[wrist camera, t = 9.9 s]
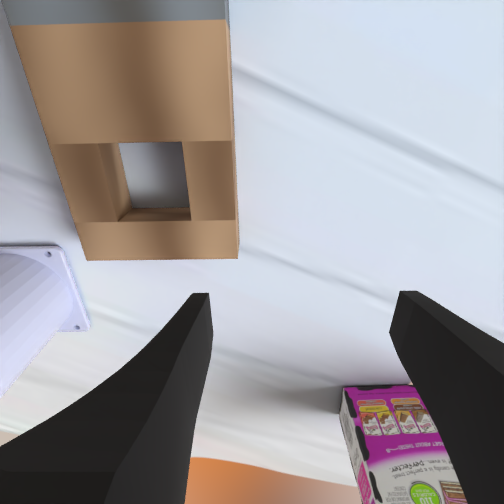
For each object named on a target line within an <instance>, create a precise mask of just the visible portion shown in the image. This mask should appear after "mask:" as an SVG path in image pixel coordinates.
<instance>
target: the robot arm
mask: <svg viewBox="0 0 504 504" xmlns="http://www.w3.org/2000/svg"><path fill="white" fill-rule="evenodd" d="M47 251H48V252H50V253H51V255H50V254H49V253H48V252H47ZM77 325H78V326H77ZM90 326H91V325H90V322H89V319H88V317H87V314H86V311H85V308H84V306H83V303H82V300H81V297H80V295H79V292H78V289H77V286H76V284H75V281H74V278H73V275H72V273H71V270H70V267H69V264H68V262H67V259H66V256H65V253H64V251H63V250H62V249H61V248H60V247H58V246H17V247H0V398H1V397H2V396H3V395H4V394H5V392H6V391H7V390H8V389H9V388H10V386H11V385H12V384H13V383H14V382H15V381H16V379H17V378H18V377H19V376H20V375H21V373H22V372H23V371H24V370H25V369H26V368H27V366H28V365H29V364H30V363H31V362H32V360H33V359H34V358H35V357H36V356H37V354H38V353H39V352H40V351H41V350H42V349H43V347H44V346H45V345H46V344H47V343H48V341H49V340H50V339H51V338H52V337H53V336H54V334H55V333H56V332H82V331H88V330H89V328H90ZM389 333H390V336H391V339H392V342H393V344H394V347H395V350H396V352H397V355H398V357H399V359H400V361H401V363H402V365H403V367H404V368H405V370H406V372H407V374H408V376H409V378H410V379H411V381H412V383H413V385H414V387H415V389H416V390H417V392H418V394H419V396H420V398H421V399H422V401H423V403H424V405H425V407H426V409H427V410H428V412H429V414H430V416H431V418H432V420H433V422H434V424H435V426H436V428H437V430H438V432H439V435H440V437H441V439H442V442H443V444H444V446H445V449H446V451H447V453H448V456H449V458H450V460H451V463H452V465H453V468H454V470H455V473H456V475H457V478H458V480H459V483H460V485H461V488H462V490H463V493H464V496H465V498H466V501H467V504H504V343H502V342H501V341H499V340H497V339H495V338H494V337H492V336H490V335H488V334H487V333H485V332H483V331H482V330H480V329H478V328H477V327H475V326H473V325H472V324H470V323H468V322H467V321H465V320H464V319H462V318H460V317H459V316H457V315H456V314H454V313H452V312H451V311H449V310H448V309H446V308H444V307H443V306H441V305H440V304H438V303H437V302H435V301H433V300H432V299H430V298H428V297H427V296H425V295H423V294H422V293H420V292H418V291H400V293H399V296H398V300H397V304H396V308H395V312H394V316H393V319H392V323H391V327H390V331H389ZM212 341H213V326H212V317H211V308H210V299H209V293H193V294H191V295H190V297H189V298H188V299H187V300H186V302H185V303H184V304H183V305H182V307H181V308H180V309H179V310H178V311H177V313H176V314H175V315H174V316H173V317H172V318H171V320H170V321H169V322H168V323H167V324H166V325H165V326H164V327H163V329H162V330H161V331H160V332H159V333H158V334H157V335H156V336H155V337H154V338H153V339H152V340H151V341H150V342H149V343H148V344H147V345H146V346H145V347H144V348H143V349H142V350H141V351H140V352H139V353H138V354H137V355H136V356H134V357H133V358H132V359H131V360H130V361H129V362H128V363H127V364H125V365H124V366H123V367H122V368H121V369H119V370H118V371H117V372H116V373H114V374H113V375H112V376H110V377H109V378H108V379H106V380H105V381H104V382H102V383H101V384H100V385H98V386H97V387H96V388H94V389H93V390H92V391H90V392H89V393H88V394H86V395H85V396H83V397H82V398H80V399H79V400H77V401H76V402H74V403H73V404H71V405H70V406H68V407H67V408H65V409H63V410H62V411H60V412H59V413H57V414H56V415H54V416H52V417H51V418H49V419H47V420H46V421H44V422H42V423H41V424H39V425H37V426H35V427H34V428H32V429H30V430H28V431H27V432H25V433H23V434H21V435H20V436H18V437H16V438H15V439H13V440H11V441H9V442H7V443H6V444H4V445H2V446H1V447H0V504H184V503H185V495H186V487H187V479H188V471H189V464H190V456H191V449H192V442H193V435H194V428H195V423H196V418H197V413H198V409H199V405H200V401H201V397H202V392H203V388H204V384H205V380H206V375H207V371H208V367H209V363H210V358H211V350H212Z"/></svg>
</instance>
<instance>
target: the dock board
mask: <svg viewBox="0 0 504 504" xmlns="http://www.w3.org/2000/svg"><path fill="white" fill-rule="evenodd" d="M1 1H2V4H3V7H4V10H5V13H6V16H7V19H8V22H9V25H10V28H11V31H12V34H13V37H14V40H15V43H16V47H17V50H18V53H19V56H20V59H21V62H22V65H23V68H24V71H25V74H26V77H27V80H28V83H29V86H30V89H31V92H32V95H33V98H34V101H35V104H36V108H37V111H38V114H39V117H40V120H41V123H42V126H43V129H44V132H45V135H46V138H47V141H48V144H49V147H50V150H51V153H52V156H53V159H54V162H55V165H56V168H57V172H58V175H59V178H60V181H61V184H62V187H63V190H64V193H65V196H66V199H67V202H68V205H69V208H70V211H71V214H72V217H73V220H74V223H75V226H76V229H77V233H78V236H79V239H80V242H81V245H82V248H83V251H84V254H85V257H86V260H87V261H94V260H172V259H238V250H239V222H238V200H237V178H236V156H235V134H234V112H233V90H232V68H231V46H230V24H229V2H228V0H1ZM134 142H182V148H183V156H184V164H185V171H186V179H187V187H188V195H189V203H190V207H182V208H132V204H131V199H130V195H129V190H128V186H127V181H126V177H125V172H124V168H123V163H122V159H121V154H120V150H119V145H118V143H134Z"/></svg>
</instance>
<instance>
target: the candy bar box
mask: <svg viewBox="0 0 504 504" xmlns="http://www.w3.org/2000/svg"><path fill="white" fill-rule="evenodd" d="M339 419H340V423H341V427H342V431H343V434H344V438H345V441H346V445H347V449H348V452H349V456H350V460H351V464H352V467H353V471H354V475H355V478H356V482H357V485H358V489H359V493H360V497H361V501H362V504H467V501H466V498H465V496H464V493H463V490H462V488H461V485H460V483H459V480H458V478H457V475H456V473H455V470H454V468H453V465H452V463H451V460H450V458H449V456H448V453H447V451H446V449H445V446H444V444H443V442H442V439H441V437H440V435H439V432H438V430H437V428H436V426H435V424H434V422H433V420H432V418H431V416H430V414H429V412H428V410H427V409H426V407H425V405H424V403H423V401H422V399H421V398H420V396H419V394H418V392H417V390H416V389H415V387H414V385H394V386H370V387H346V388H343V392H342V401H341V406H340V413H339Z"/></svg>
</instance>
